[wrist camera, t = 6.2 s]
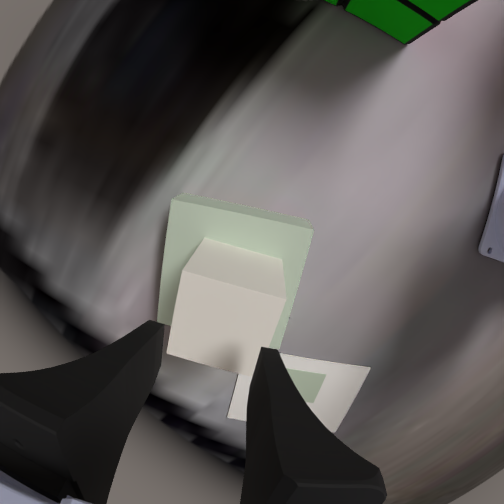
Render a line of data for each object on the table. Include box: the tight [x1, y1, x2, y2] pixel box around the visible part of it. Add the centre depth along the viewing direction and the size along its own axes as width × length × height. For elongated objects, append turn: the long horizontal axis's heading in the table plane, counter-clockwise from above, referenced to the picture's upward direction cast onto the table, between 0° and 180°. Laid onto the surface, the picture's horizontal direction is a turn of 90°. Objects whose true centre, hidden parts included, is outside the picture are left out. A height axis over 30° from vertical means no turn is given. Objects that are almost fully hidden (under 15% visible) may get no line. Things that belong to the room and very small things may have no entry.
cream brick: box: [167, 238, 287, 377], centre depth 17 cm, size 4×4×5 cm
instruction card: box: [227, 353, 371, 432], centre depth 24 cm, size 10×8×1 cm
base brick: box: [157, 193, 314, 349], centre depth 20 cm, size 8×8×3 cm
